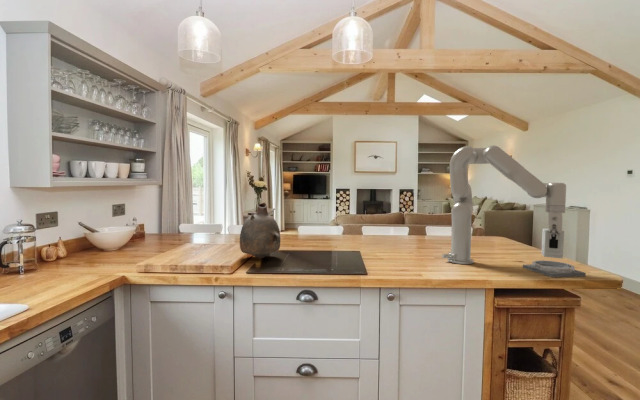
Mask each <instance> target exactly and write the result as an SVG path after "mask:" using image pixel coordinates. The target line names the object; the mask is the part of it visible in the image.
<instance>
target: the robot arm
mask: <svg viewBox="0 0 640 400" xmlns="http://www.w3.org/2000/svg"><path fill="white" fill-rule="evenodd" d="M449 160H450V161H449V167H448V168H449V180H450V183H449V185H450V193H451V195H452V197H453V206H452V207H451V214H450V215H451V217H450V218H451V240H450V241H451V242H450V243H451V244H450V247H451V248H450V251H449V253H447V254H446V253H445V254H443V253H442V255H441V257H442V259H446V258H447V261H448V262H450V263H451V264H452V263H453V264H459V265H471V264H474V262H475V261H474V259H472V258H471V257H472V256H471V254H472V252H471V251H472V214H473V212H474V204H473V194H472V192H473V191H472V187H471V185H470V184H469V176H468V164H469V165H477V164H478V165H479V164H480V165H483V164H486V165H487V164H488V165H489V164H490V165H491V166H492V167H493V168H494V169H496V170H497V171H498V172H499V173H500V174H501V175H503V176H504V177H505V178H507V179H508V180H510V181H512V182H513V183H515V184H516V185H517V186H518V187H519V188H521V189H522V190H523V191H524V192H526V193H527V195H528V196H530V197H531V198H533V199H542V198H545V208H544V209H545V210H544V211H545V213H548V216H547V217H548V219H547V229H548V230H549V233H550V239H549V248H556V249H557V248H558V240H557V238H558V233H560V235H561V234H562V231H563V214H565V213H566V201H567V199H566V198H567V184H565V182H564V183H563V182H548V183H546V182H542V181H541V179H539V178H538V177H536V176H535V175H534V174H532V173H531V172H530V171H529V170H528V169H526V168H525V167H524V165H522V164H521V163H520V162H519V161H517V160H516V159H515V158H513V156H511V155H509V153H507V152H506V151H505V150H504V149H502V148H501V147H499V146H497V145H489V146H488V147H473V146H470V145H466V146H462V147H459V148H458V149H457V150H456V151H455V152H454V153H452V156H451V158H450V159H449ZM551 230H552V232H550V231H551ZM556 231H557V233H556Z"/></svg>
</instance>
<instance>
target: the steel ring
mask: <svg viewBox="0 0 640 400" xmlns="http://www.w3.org/2000/svg"><path fill="white" fill-rule="evenodd" d="M531 264H532V267H534V268H536V269H539V270H543V271H547V272H555V273H573V272H575V270H576V267H575V265H573V264H570V263H567V262H562V261H555V260H545V259H543V260H542V259H541V260H537V259H536V260H533V261H532V262H531ZM542 265H551V266H559V267H564V268H554V267H547V266H542Z"/></svg>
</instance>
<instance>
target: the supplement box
mask: <svg viewBox="0 0 640 400" xmlns="http://www.w3.org/2000/svg"><path fill="white" fill-rule="evenodd" d="M550 232H552V230H551V231H550ZM556 233H557V231H556ZM564 237H565V231H564V230H562V234H561V235H560V233H558V238H557V240H558V248H557V249H556V248H549V239H550V233H549V230H548V228H542V233H541V252H540V253H541V256H543V257H544V258H552V259H563V257H564V240H565V238H564Z"/></svg>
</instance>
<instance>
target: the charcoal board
mask: <svg viewBox="0 0 640 400" xmlns="http://www.w3.org/2000/svg"><path fill="white" fill-rule="evenodd" d="M542 266H547V267H554V268H564V267H559V266H551V265H542ZM522 269H525V270H528V271H531V272H534V273H538V274H540V275H543V276H546V277H549V278H569V277H571V278H573V277H574V276H576V277H586V272H584V271H580V270H577V269H575V272H573V273H555V272H547V271H543V270H539V269H536V268H534V267H532V263H531V264H522Z"/></svg>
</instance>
